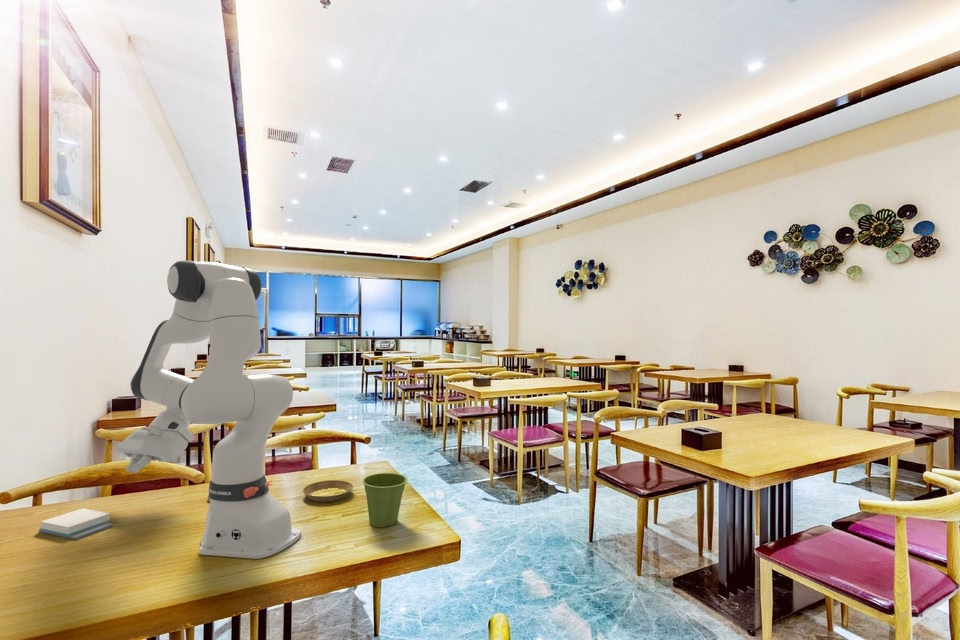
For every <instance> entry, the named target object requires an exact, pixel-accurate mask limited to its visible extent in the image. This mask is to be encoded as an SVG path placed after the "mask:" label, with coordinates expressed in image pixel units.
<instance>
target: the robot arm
mask: <svg viewBox="0 0 960 640" xmlns="http://www.w3.org/2000/svg"><path fill="white" fill-rule="evenodd" d="M166 279H167V280H166V284H167V289H168V293H169V294H170V296H172V297H173V298H174V299H176V300H175V302H174V306H173V311H172V314H171V316H170V318H169V319H167V320H166V319H165V320H163V321H161V322H160V323H159V324H158V326H157V327H156V328H155V330H154V331H153V334H152V336H151V338H150V341H149V343H148V345H147V347H146V350H145V353H144V355H143V358H142V360H141V363H140V364H139V367H138V368H137V370H136V372H135V373H134V375H133V376H132V378H131V380H130V389H131V393H132V395H133V396H134V397H135V398H137V399H140V400H144V401H147V402H153V403H155V404H158V405H161V406H163V407H165V409H163V410H162V411H160V412H159V413H158V414H157V416H155V418H154V419H153V420H152V421H151V422H150V423H149V424H148V426H144V427H143V426H142V428H140V429H137V430H134V431H132V432H131V433H130V434H129V435H128V436H127V437H126V438H125V439H123V441H122V442H121V443H119V445H118V446H117V448H116V452H117V453H118V454H120V455H121V456H122V457H126V458H130V460H129V464H128V465H127V466H126V467H125V471H127V472H128V473H132V474H133V473H134V474H138V473H139V472H140V471H141V469H142V468H144V467H146V466H148V465H149V464H150V463H151V462H153V461H157V462H165V463H173V462H175V461H176V460H178V459H179V457H180V456H181V455H182V454H183V452H184V451H186V449H187V447H188V444H189V443H191V442H193V440H194V439H195V436H194V435H193V433H191V432H190V430H188V428H189V427H190V424H191V423H192V424H196V425H198V424H199V425H200V424H201V425H220V424H227V423H234V422H235V425H234V427H233V429H232V430H231V431H230V432H229V434H227V435H226V436H225V437H223V438H222V439H221V440H219V441H218V442H217V443H216V444H215V447H214V448H213V452H212V467H211V468H212V469H211V480H210V481H209V487H208V496H209V497H210V502H209V506H208V509H207V513H206V517H205V524H204V530H203V534H202V538H201V541H200V547H199V550H198V554H199V555H202V556H216V557H229V558H230V557H231V558H241V559H242V558H243V559H255V560H256V559H257V560H258V559H263V558H266V557H270V556H273V555H275V554H277V553H279V552H282V551H283V550H285V549H286V548H288V547H290V546H291V545H293V544H294V543H296V542H297V541H298V540H299V539H300V537H301V535H302V530H301V529H300V528H296V527H293V526H292V520H291V514H290V511H289V509H287V508H286V507H285V506H284V505H283V504H282V503H281V502H280V501H279V500H278V499H277V498H276V497H275V496H274V495H273V494H272V493H271V492H270V489H269V487H270V486H273V480H269V481H268V480H267V478H266V476H265V473H264V466H265V464H264V463H265V452H266V445H267V441H268V438H269V436H270V433H271V431H272V428H273V427H274V425H275V423H276V421H278V419H279V418H280V417H281V415H282V414H283V413H284V412H285V411H286V410H288V409H289V407H290V406H291V404H292V401H293V398H294V391H293V390H294V389H293V386H292V384H291V382H290V381H289V380H288V378H286V377H285V376H284V375H283V376H282V375H277V374H270V373H269V374H268V373H261V374H244V373H243V372H244V371H243V370H244V366H245V363H246V362H247V361H249V360H251V359H252V358H254V357H255V356H256V355H257V354H259V352H260V350H261V348H262V339H261V337H262V336H261V327H260V318H259V317H260V316H259V310H258V305H257V300H258V299H259V297H260V296H261V292H262V279H261V277H260V275H259V274H258V272H257V271H256V270H253V269H251V268H248V267H243V266H242V267H239V266H235V265H230V264H224V263H220V262H213V261H212V262H211V261H193V260H191V259H190V260H180V261H179V260H178V261H176V262H174V263H173V264H172V265H171V267H170V268H169V270H168V273H167V278H166ZM208 338H209V346H210V347H209V355H208V359H207V362H206V365H205V367H204V368H203V370H202V372H201V373H200V374H199V375H198V376H197V377H196V378H195V379H193V378H191V377H188V376H185V375H182V374H179V373H176V372H173V371H170V370H168V369H166V367H165V366H164V362H165V360H166V358H167V355H168V353H169V352H170V349H171V346H172V345H173V344H174V345H175V344H186V345H187V344H195V343H200V342H203V341H206V340H207V339H208Z"/></svg>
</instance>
